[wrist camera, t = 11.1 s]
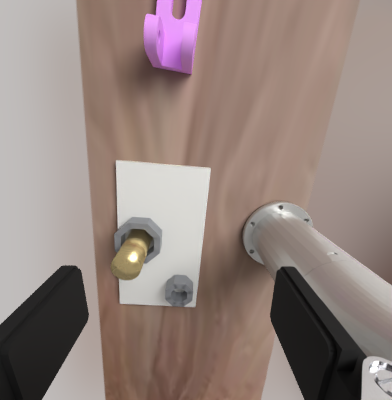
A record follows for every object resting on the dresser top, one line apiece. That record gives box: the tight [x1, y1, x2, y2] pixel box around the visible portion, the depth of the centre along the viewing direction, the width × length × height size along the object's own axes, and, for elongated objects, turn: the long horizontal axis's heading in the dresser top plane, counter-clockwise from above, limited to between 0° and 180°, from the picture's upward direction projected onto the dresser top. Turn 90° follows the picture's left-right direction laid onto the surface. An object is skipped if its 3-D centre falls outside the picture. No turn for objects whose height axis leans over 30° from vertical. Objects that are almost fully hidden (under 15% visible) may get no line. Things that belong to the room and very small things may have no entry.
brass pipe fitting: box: [111, 229, 153, 280], centre depth 31 cm, size 4×4×9 cm
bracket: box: [144, 0, 202, 74], centre depth 24 cm, size 13×6×7 cm, turn 171°
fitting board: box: [114, 160, 211, 307], centre depth 35 cm, size 15×28×4 cm, turn 175°
